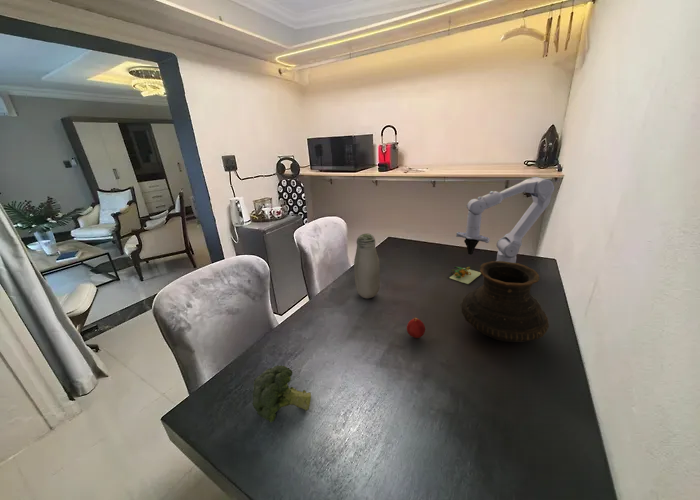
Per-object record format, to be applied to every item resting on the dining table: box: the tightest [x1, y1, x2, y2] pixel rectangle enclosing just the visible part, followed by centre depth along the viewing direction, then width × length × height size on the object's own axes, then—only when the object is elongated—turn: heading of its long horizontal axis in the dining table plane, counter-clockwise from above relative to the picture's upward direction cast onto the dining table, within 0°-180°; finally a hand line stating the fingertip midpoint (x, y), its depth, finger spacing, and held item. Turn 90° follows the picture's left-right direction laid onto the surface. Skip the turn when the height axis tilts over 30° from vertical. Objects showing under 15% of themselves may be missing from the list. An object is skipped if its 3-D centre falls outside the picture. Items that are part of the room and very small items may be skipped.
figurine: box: [450, 266, 471, 278], centre depth 124 cm, size 3×12×8 cm
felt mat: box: [449, 267, 482, 285], centre depth 124 cm, size 14×9×1 cm, turn 132°
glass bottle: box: [353, 233, 381, 299], centre depth 108 cm, size 10×10×28 cm
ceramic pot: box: [460, 260, 550, 343], centre depth 83 cm, size 24×24×22 cm
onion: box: [406, 317, 426, 339], centre depth 86 cm, size 6×6×8 cm
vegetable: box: [251, 364, 312, 423], centre depth 66 cm, size 12×13×15 cm
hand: (470, 253), depth 124 cm, fingers closed
